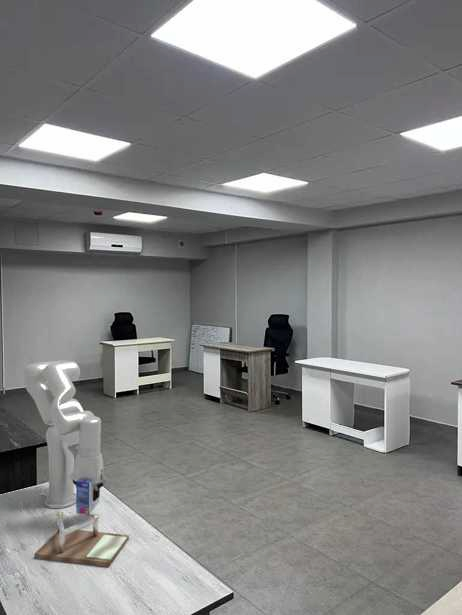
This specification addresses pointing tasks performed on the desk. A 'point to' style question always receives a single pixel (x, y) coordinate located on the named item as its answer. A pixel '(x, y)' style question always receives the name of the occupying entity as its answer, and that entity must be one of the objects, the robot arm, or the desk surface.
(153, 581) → the desk surface
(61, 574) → the desk surface
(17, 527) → the desk surface
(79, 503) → the ink cartridge box
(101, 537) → the board
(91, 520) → the bent wire
